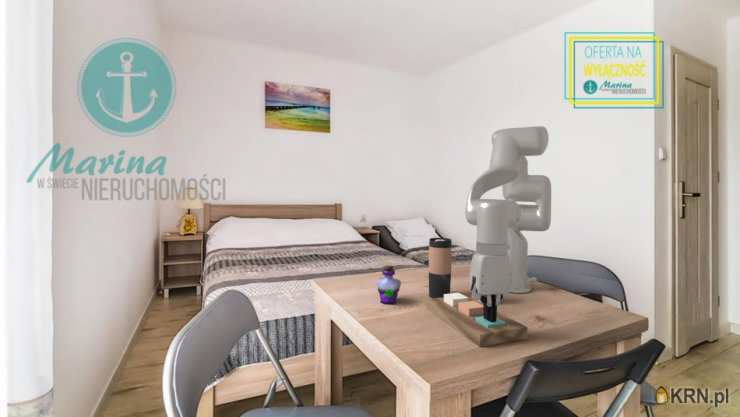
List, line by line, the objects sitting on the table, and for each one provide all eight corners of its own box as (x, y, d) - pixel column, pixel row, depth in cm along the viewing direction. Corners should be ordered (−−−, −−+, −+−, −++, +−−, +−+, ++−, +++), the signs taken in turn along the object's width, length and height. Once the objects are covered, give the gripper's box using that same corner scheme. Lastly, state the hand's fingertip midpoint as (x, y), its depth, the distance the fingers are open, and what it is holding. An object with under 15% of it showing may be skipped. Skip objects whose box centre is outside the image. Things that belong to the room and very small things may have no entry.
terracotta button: (473, 310, 100) (473, 300, 99) (485, 317, 95) (485, 306, 94) (458, 312, 98) (458, 302, 98) (468, 319, 93) (469, 308, 93)
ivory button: (458, 302, 107) (458, 292, 107) (468, 307, 102) (468, 297, 102) (443, 303, 105) (443, 294, 105) (452, 309, 101) (453, 299, 100)
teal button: (491, 325, 92) (491, 315, 92) (504, 333, 87) (505, 322, 87) (475, 328, 90) (475, 317, 90) (487, 336, 85) (487, 324, 85)
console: (465, 304, 111) (465, 294, 111) (527, 338, 86) (527, 327, 86) (426, 308, 107) (426, 299, 107) (479, 346, 81) (480, 334, 81)
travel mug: (449, 293, 123) (450, 237, 121) (452, 300, 115) (453, 241, 114) (427, 292, 123) (428, 237, 122) (429, 299, 116) (429, 240, 114)
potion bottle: (381, 307, 108) (381, 270, 107) (371, 299, 116) (371, 264, 115) (406, 304, 111) (406, 267, 110) (394, 296, 119) (394, 262, 118)
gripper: (505, 245, 93) (503, 312, 94) (458, 248, 89) (456, 317, 90) (526, 250, 86) (524, 322, 87) (475, 253, 81) (473, 329, 82)
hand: (489, 319), depth 88 cm, fingers closed
